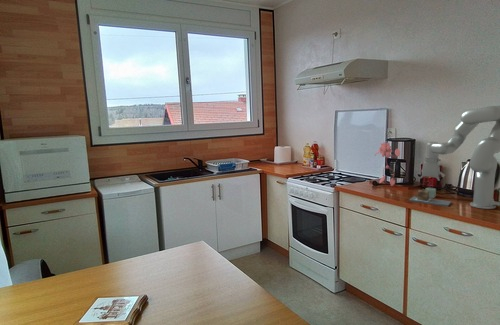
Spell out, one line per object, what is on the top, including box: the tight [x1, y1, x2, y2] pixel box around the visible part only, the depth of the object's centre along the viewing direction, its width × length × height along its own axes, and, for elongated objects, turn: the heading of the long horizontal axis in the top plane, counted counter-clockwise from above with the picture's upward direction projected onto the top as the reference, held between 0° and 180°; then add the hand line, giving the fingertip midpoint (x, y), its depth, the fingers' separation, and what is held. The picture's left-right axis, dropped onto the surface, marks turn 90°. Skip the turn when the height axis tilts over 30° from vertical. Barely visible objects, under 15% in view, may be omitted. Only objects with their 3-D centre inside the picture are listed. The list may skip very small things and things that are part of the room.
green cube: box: [424, 187, 437, 199], centre depth 218 cm, size 6×6×6 cm
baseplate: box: [408, 196, 452, 208], centre depth 205 cm, size 22×10×1 cm, turn 48°
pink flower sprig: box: [374, 141, 401, 189], centre depth 253 cm, size 15×26×35 cm, turn 22°
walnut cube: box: [416, 189, 430, 201], centre depth 207 cm, size 6×6×6 cm
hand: (429, 184), depth 218 cm, fingers open, 9 cm apart
